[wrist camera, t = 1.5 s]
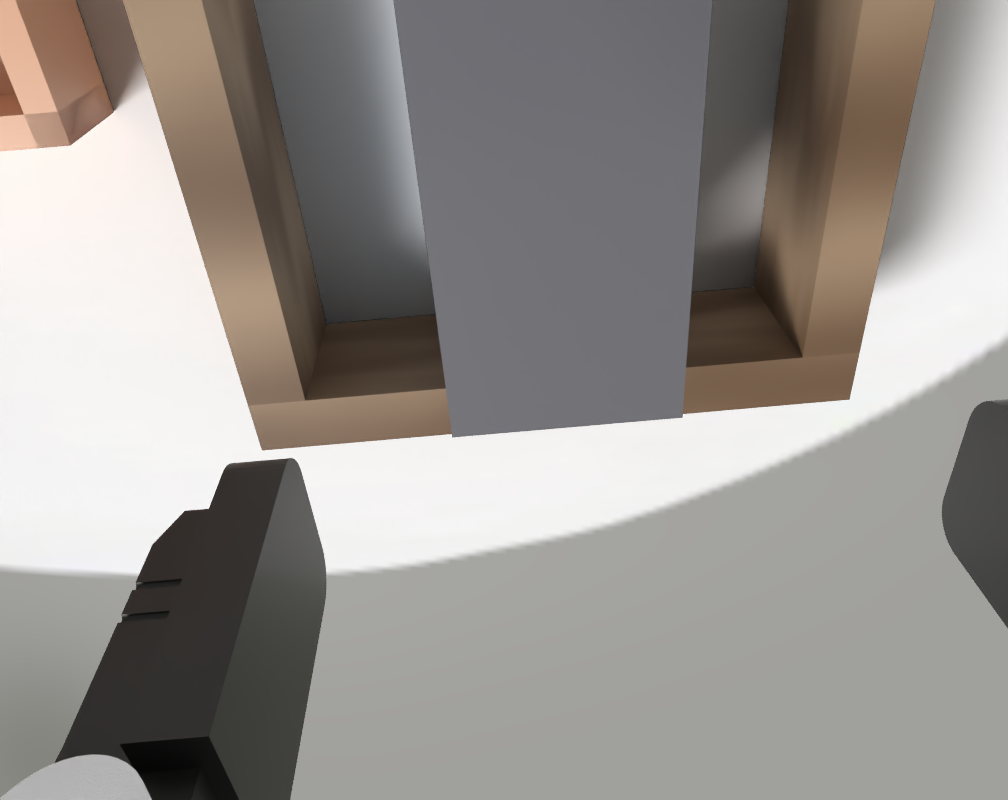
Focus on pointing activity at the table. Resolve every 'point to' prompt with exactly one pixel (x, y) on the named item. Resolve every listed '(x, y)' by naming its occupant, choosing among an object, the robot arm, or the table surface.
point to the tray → (47, 76)
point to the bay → (415, 340)
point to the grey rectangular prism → (558, 202)
